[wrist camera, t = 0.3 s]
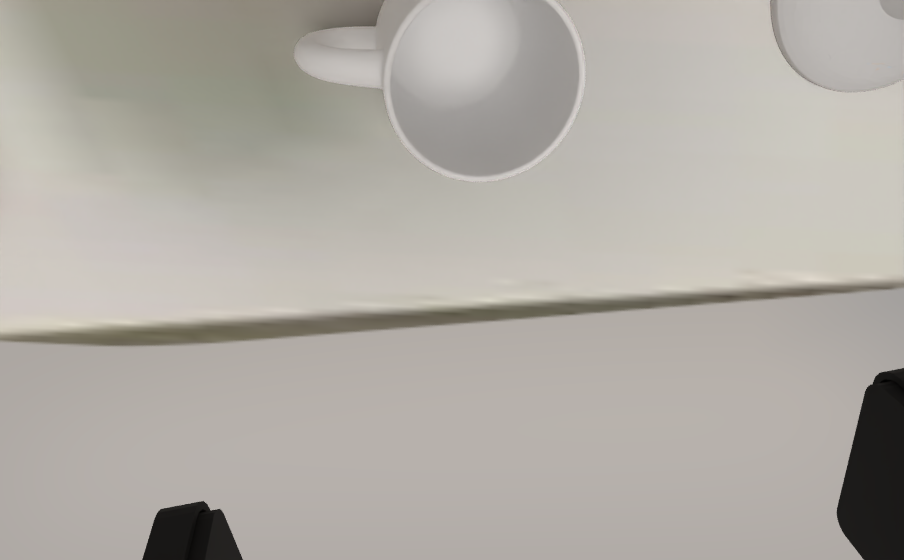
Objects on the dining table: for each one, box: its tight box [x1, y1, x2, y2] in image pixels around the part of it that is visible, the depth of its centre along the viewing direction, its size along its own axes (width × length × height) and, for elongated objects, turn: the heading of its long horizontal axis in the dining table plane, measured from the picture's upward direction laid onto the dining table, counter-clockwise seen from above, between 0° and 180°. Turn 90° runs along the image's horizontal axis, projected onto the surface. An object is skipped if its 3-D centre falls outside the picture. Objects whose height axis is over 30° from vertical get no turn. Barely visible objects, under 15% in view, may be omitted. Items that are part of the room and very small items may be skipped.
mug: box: [294, 0, 586, 182], centre depth 32 cm, size 12×8×10 cm
